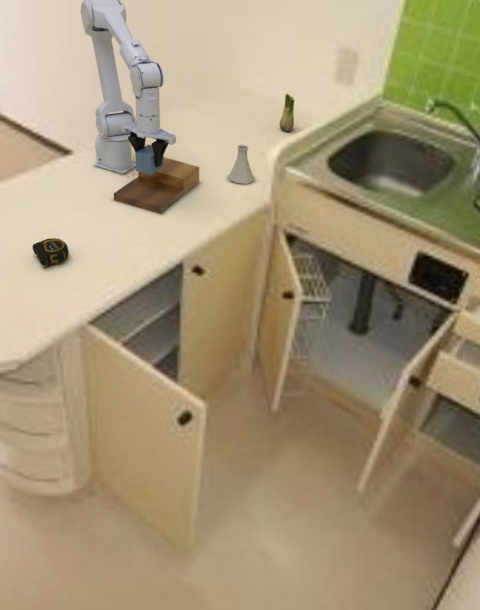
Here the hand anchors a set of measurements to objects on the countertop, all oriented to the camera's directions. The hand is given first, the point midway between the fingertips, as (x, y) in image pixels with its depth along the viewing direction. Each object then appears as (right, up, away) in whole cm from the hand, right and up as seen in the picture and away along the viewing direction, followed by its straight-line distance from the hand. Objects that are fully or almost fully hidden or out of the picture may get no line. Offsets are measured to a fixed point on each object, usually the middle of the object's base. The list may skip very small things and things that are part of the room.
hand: (149, 163), depth 168 cm
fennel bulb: (0, +30, +50) cm, 58 cm away
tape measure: (-16, -27, -23) cm, 39 cm away
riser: (0, -6, +9) cm, 11 cm away
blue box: (0, -1, +1) cm, 1 cm away
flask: (+21, 0, +21) cm, 30 cm away
